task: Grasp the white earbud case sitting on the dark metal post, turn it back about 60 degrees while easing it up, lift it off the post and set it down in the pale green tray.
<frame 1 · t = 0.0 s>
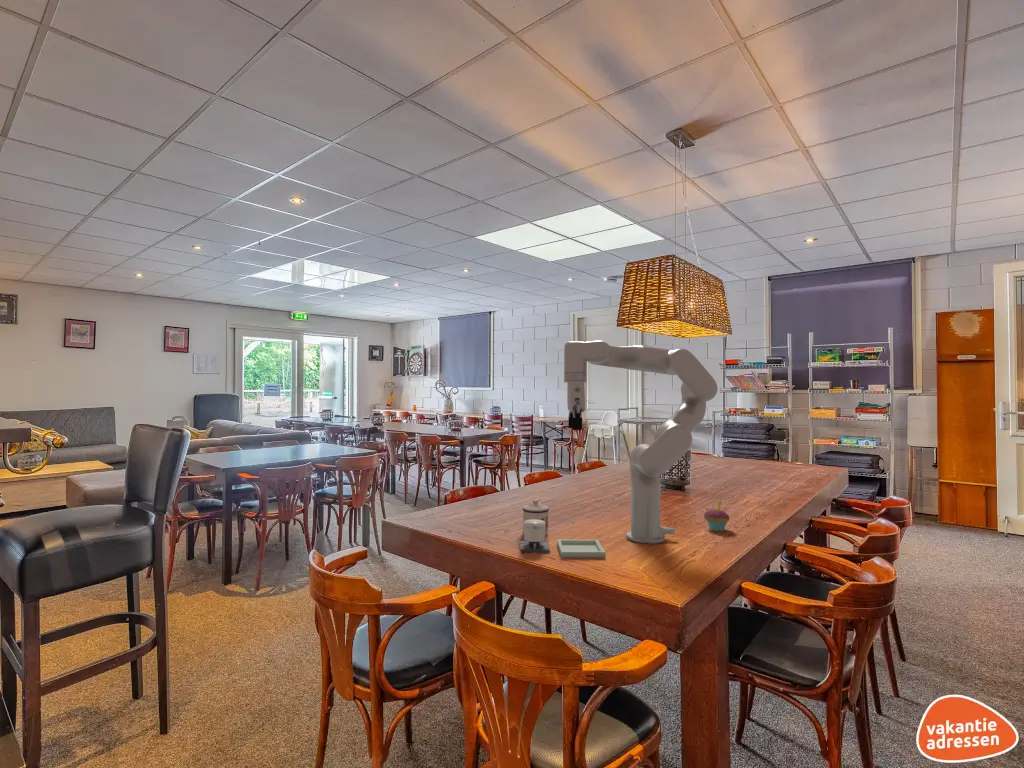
hand: (575, 428, 173), 37 cm above the table, tool pointing down, fingers open, 9 cm apart
white earbud case: (534, 538, 161), point 3 cm above the table, touching post stand
teacup with lid: (537, 533, 179), on the table
cupcake: (716, 530, 185), on the table
post stand: (534, 548, 161), on the table
tray: (580, 551, 158), on the table
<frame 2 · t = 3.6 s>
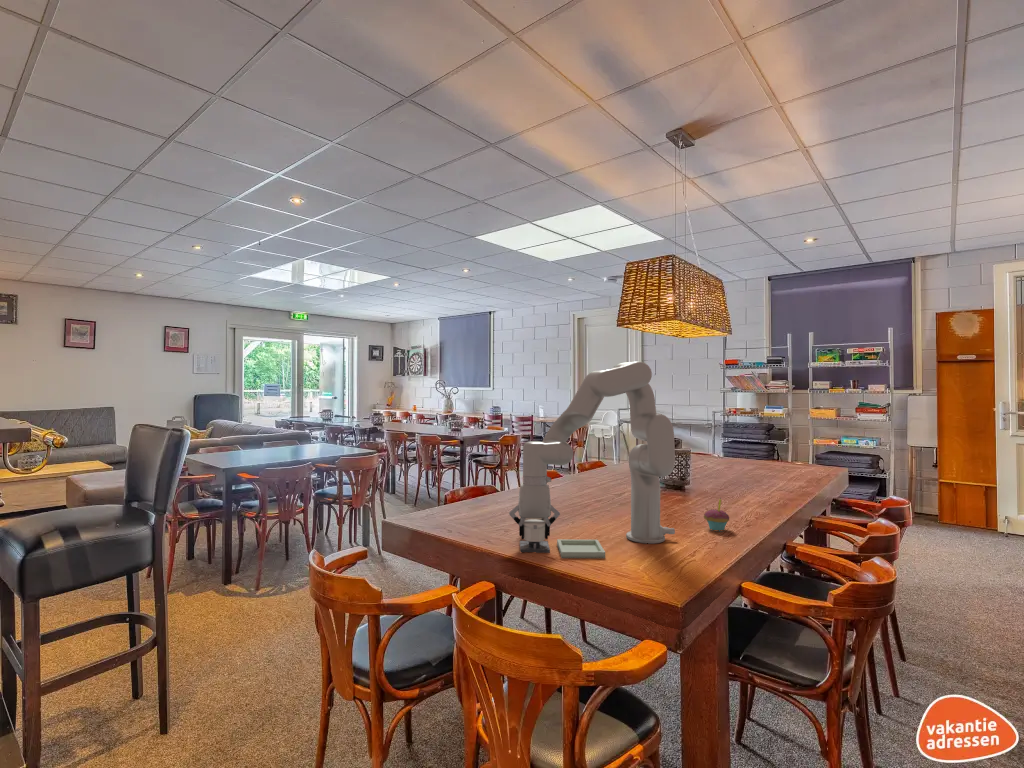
hand: (534, 537, 161), 3 cm above the table, tool pointing down, fingers closed on white earbud case, 6 cm apart
white earbud case: (534, 538, 161), point 3 cm above the table, touching gripper, post stand
everything else where it was.
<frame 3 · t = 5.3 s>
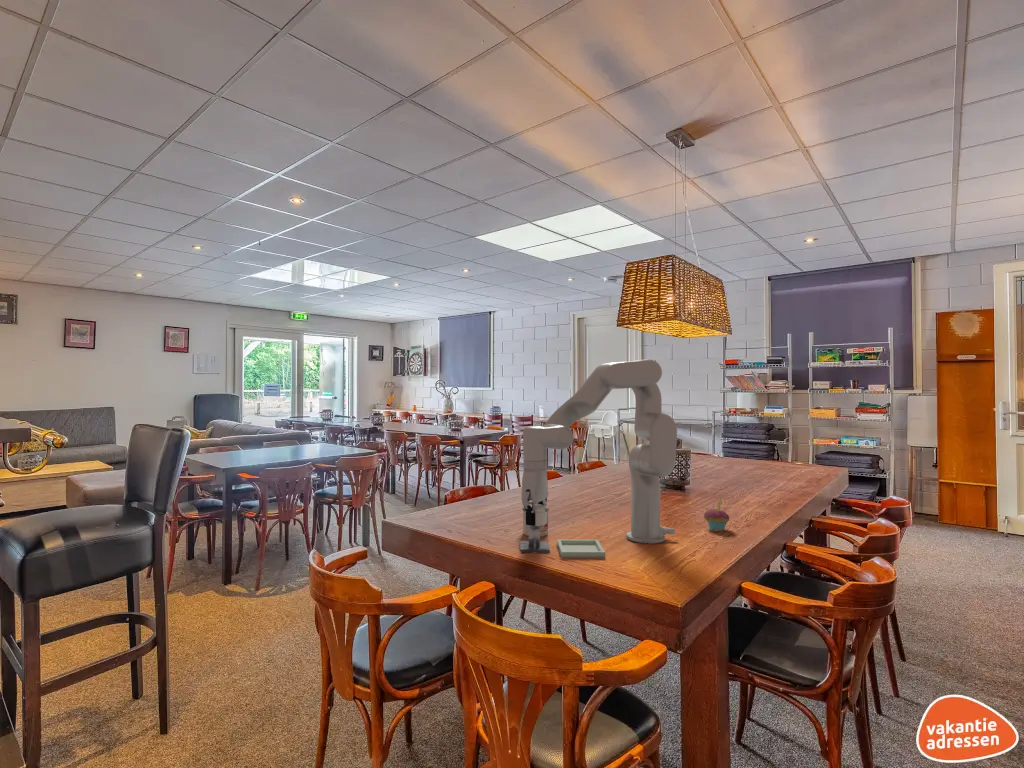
hand: (536, 521, 161), 8 cm above the table, tool pointing down, fingers closed on white earbud case, 6 cm apart
white earbud case: (536, 523, 161), point 8 cm above the table, touching gripper
everything else where it was.
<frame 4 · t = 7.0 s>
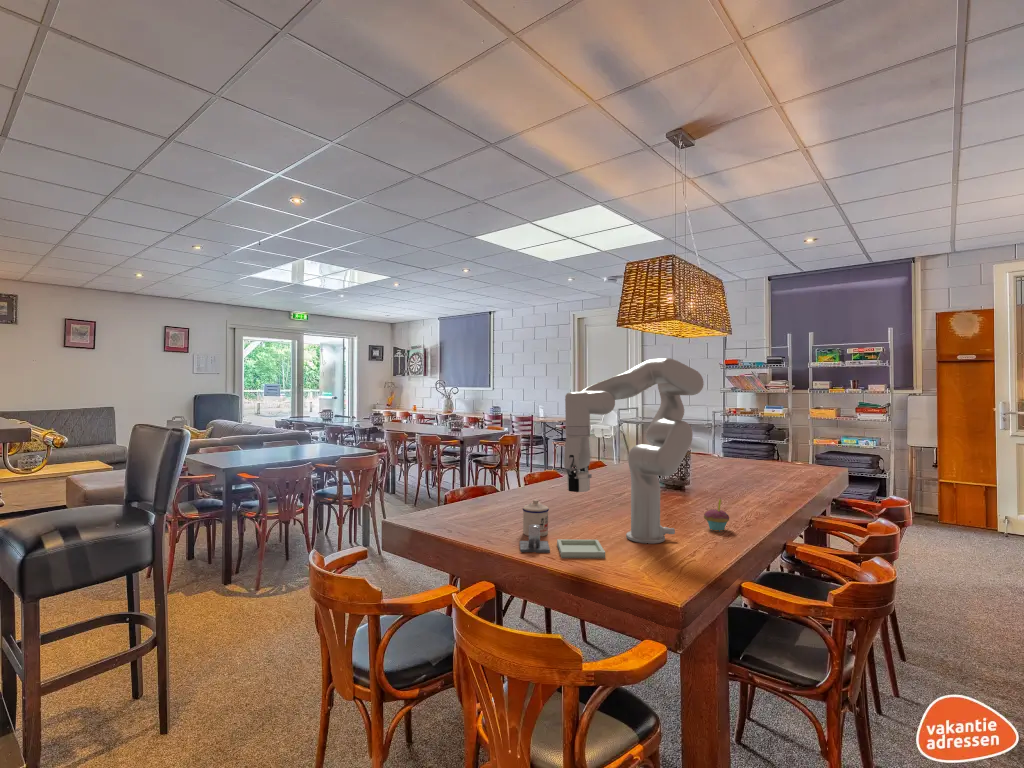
hand: (578, 488, 159), 19 cm above the table, tool pointing down, fingers closed on white earbud case, 6 cm apart
white earbud case: (578, 489, 159), point 19 cm above the table, touching gripper
everything else where it was.
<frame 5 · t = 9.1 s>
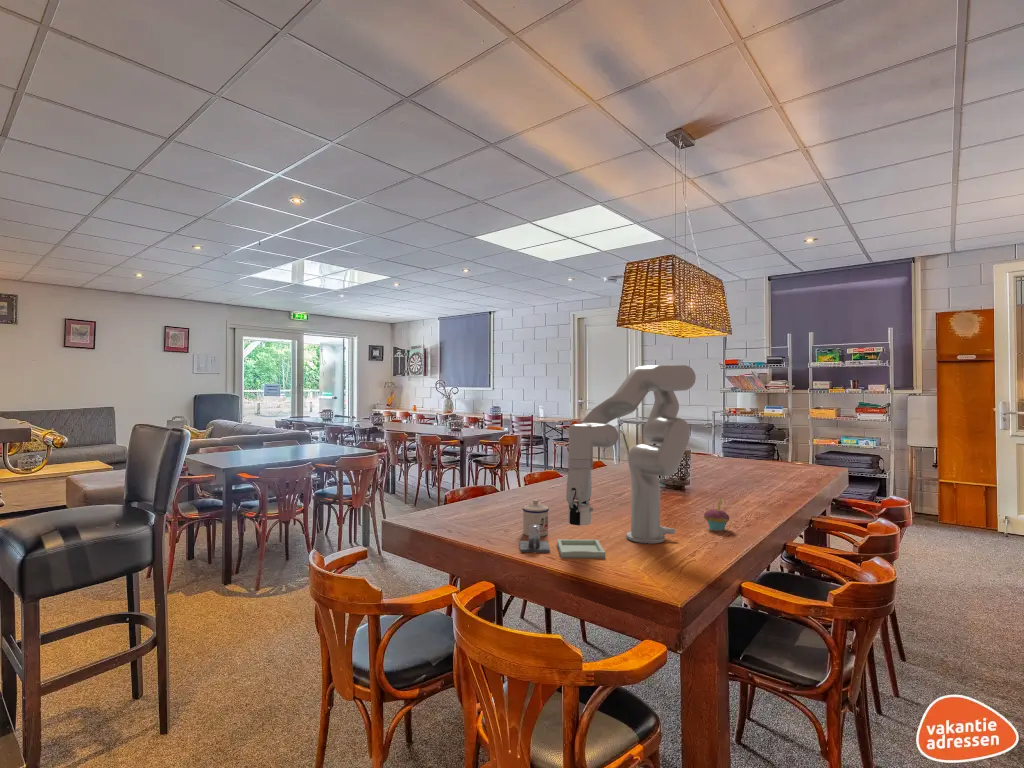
hand: (579, 521, 158), 9 cm above the table, tool pointing down, fingers closed on white earbud case, 6 cm apart
white earbud case: (579, 522, 158), point 9 cm above the table, touching gripper
everything else where it was.
when the fingers open (2 cm above the table, at t = 10.9 s): white earbud case drops 2 cm, resting on tray.
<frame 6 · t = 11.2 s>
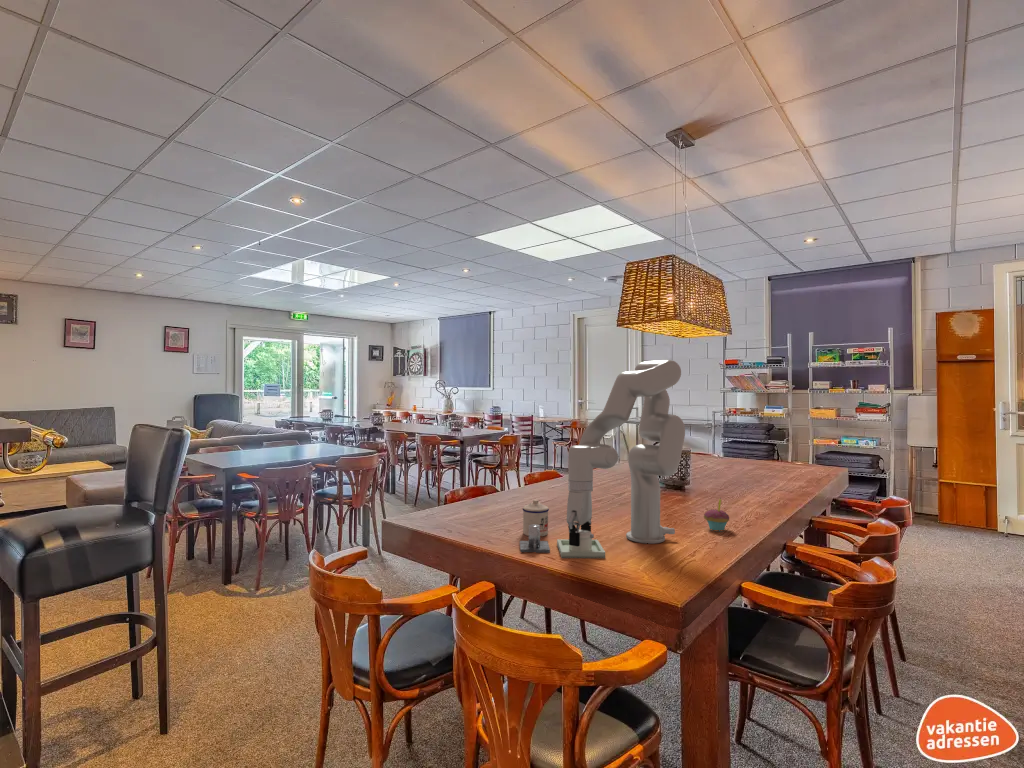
hand: (580, 541, 158), 3 cm above the table, tool pointing down, fingers open, 9 cm apart
white earbud case: (580, 549, 158), point 1 cm above the table, touching tray
everything else where it was.
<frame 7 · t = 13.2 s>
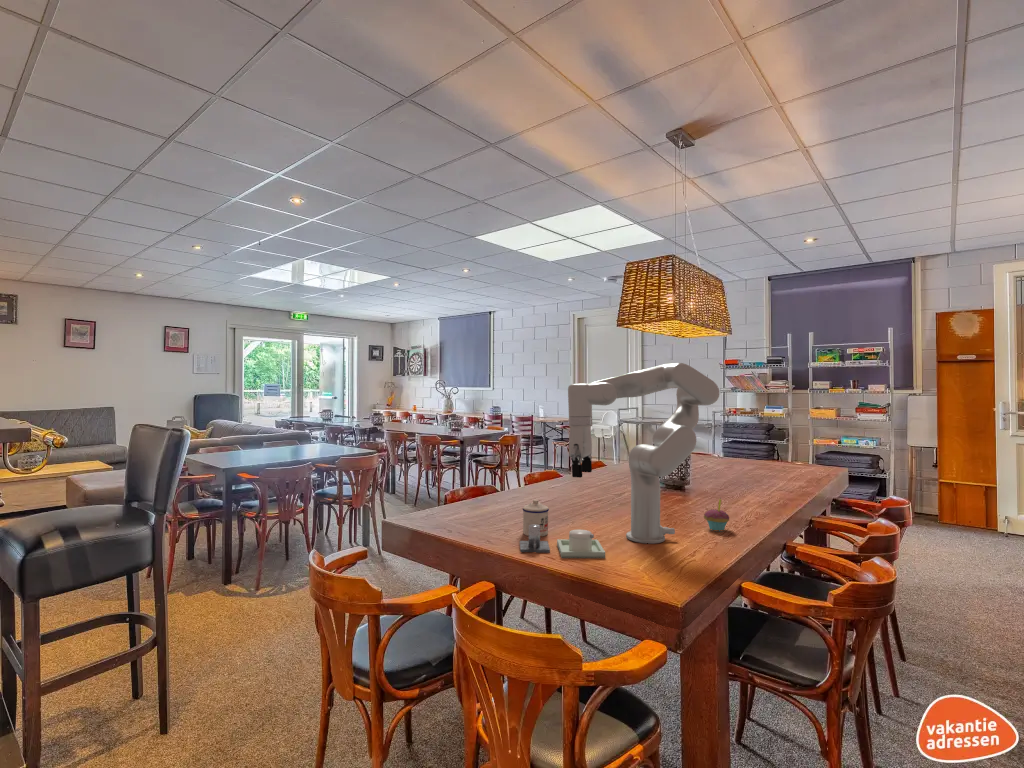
hand: (582, 474, 166), 22 cm above the table, tool pointing down, fingers open, 9 cm apart
nothing on the table moved.
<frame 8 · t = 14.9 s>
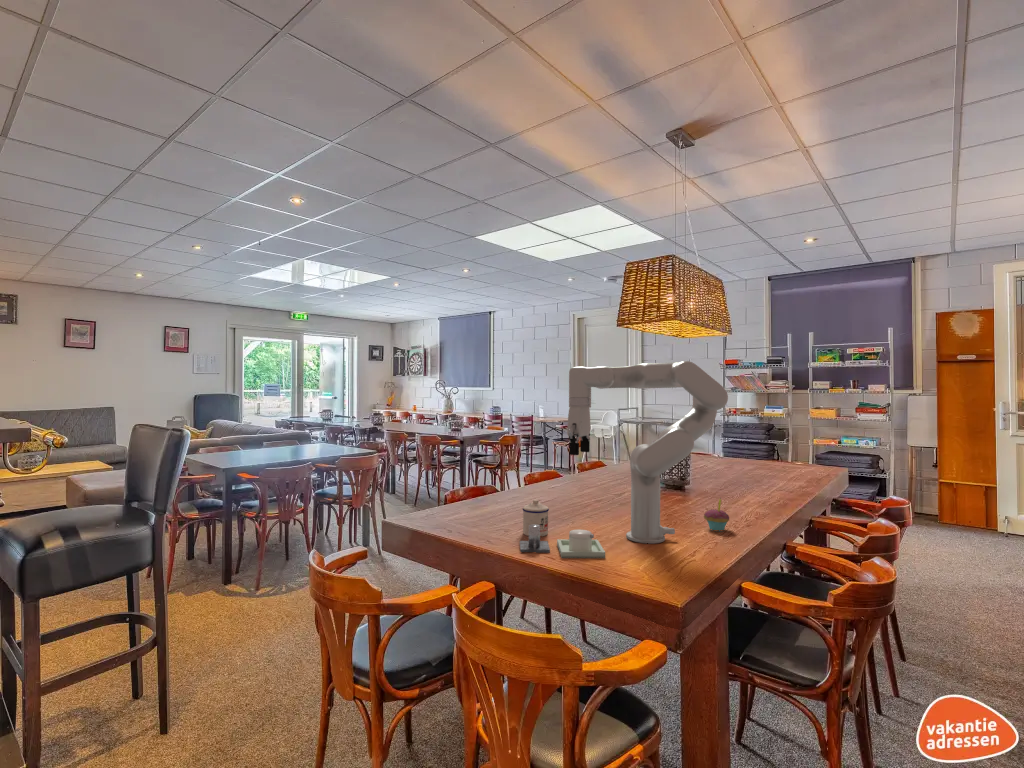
hand: (579, 453, 174), 28 cm above the table, tool pointing down, fingers open, 9 cm apart
nothing on the table moved.
at the end: white earbud case inside the target area on the tray (0.1 cm from its centre), point 0.6 cm above the tray's base; white earbud case touching tray; white earbud case tilted 0° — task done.
